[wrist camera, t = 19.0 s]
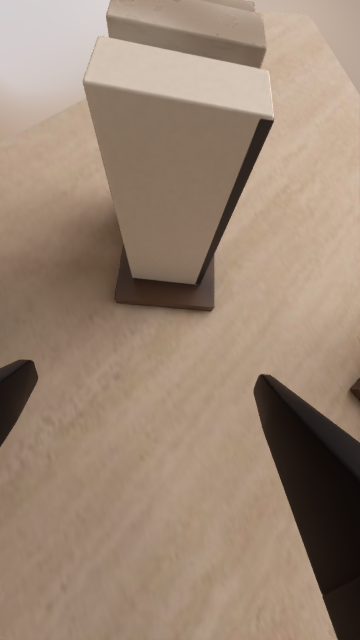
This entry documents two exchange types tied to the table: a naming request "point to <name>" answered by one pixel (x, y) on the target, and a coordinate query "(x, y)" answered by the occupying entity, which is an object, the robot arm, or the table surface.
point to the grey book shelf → (356, 389)
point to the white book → (174, 149)
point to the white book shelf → (196, 39)
